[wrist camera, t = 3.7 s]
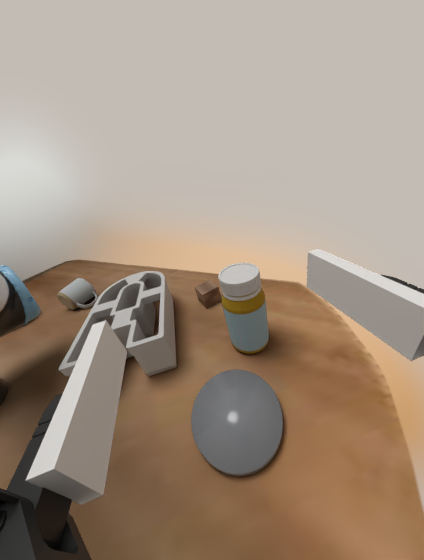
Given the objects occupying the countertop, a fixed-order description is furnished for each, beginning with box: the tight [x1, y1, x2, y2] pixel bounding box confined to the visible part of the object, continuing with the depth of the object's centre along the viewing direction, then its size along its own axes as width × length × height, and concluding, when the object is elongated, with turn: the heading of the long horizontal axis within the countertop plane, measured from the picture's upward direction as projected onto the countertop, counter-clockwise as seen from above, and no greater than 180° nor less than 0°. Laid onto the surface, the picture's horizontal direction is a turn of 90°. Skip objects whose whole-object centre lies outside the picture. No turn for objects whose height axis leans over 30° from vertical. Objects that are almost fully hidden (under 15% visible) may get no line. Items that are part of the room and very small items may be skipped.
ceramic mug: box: [57, 278, 98, 309], centre depth 62 cm, size 11×8×8 cm
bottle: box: [218, 263, 269, 354], centre depth 33 cm, size 7×7×15 cm
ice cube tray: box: [59, 271, 177, 377], centre depth 44 cm, size 17×28×9 cm, turn 12°
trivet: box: [191, 370, 283, 477], centre depth 26 cm, size 12×12×1 cm
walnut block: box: [195, 280, 222, 309], centre depth 49 cm, size 4×4×4 cm
